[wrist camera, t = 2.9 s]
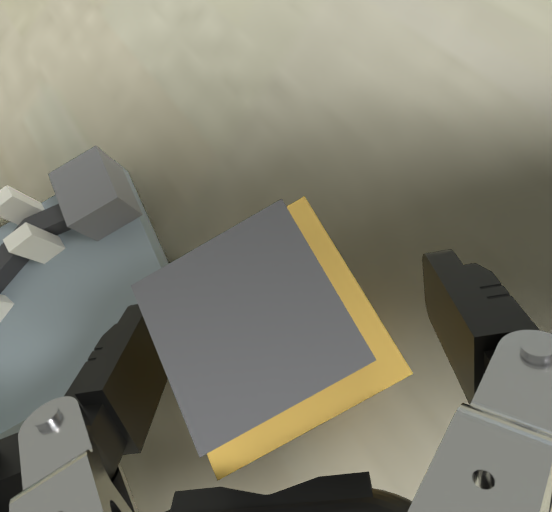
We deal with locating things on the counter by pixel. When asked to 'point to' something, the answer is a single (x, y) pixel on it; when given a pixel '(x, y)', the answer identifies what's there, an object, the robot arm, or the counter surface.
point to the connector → (265, 335)
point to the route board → (66, 277)
